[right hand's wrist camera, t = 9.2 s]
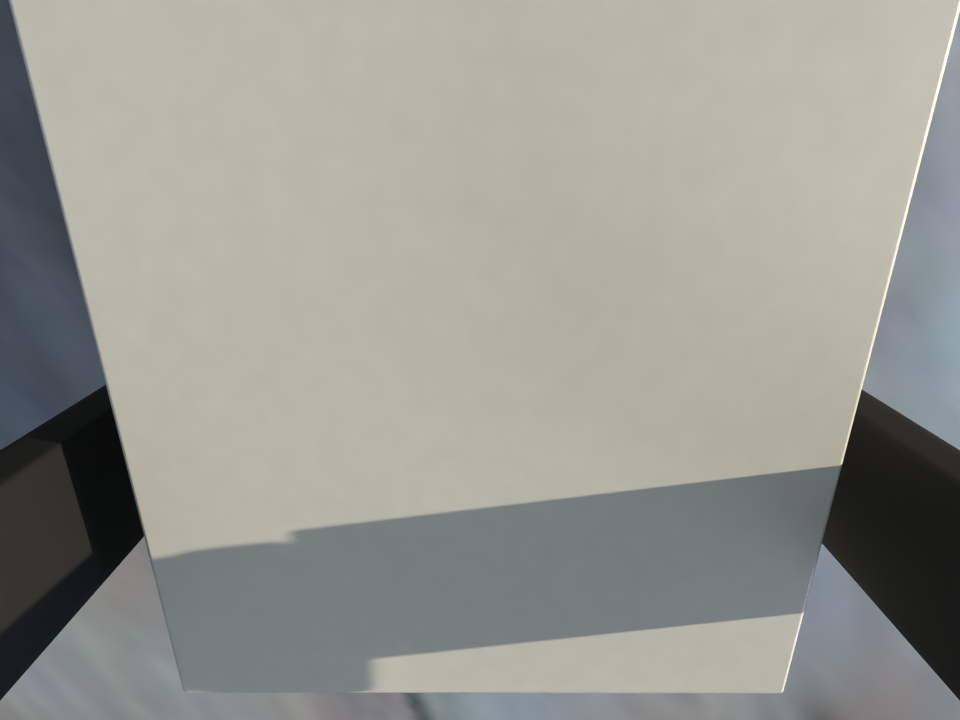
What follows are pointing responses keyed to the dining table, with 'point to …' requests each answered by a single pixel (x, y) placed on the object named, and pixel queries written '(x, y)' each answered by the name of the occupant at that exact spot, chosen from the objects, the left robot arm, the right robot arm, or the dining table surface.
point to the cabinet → (484, 320)
